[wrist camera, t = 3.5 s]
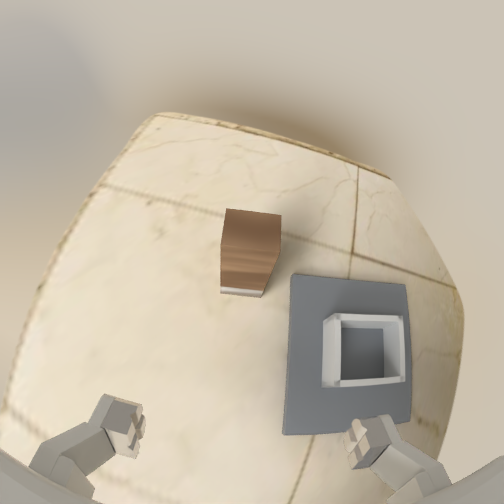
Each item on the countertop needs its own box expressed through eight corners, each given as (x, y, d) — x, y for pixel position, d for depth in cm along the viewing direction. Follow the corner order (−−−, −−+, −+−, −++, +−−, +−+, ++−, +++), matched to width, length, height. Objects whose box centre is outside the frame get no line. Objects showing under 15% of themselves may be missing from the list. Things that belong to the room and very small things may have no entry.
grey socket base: (404, 420, 22) (427, 422, 18) (282, 433, 21) (292, 441, 18) (400, 287, 29) (419, 274, 26) (290, 277, 29) (300, 261, 25)
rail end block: (260, 297, 27) (280, 251, 19) (220, 293, 27) (220, 244, 18) (262, 270, 29) (281, 215, 20) (224, 265, 29) (226, 208, 20)
